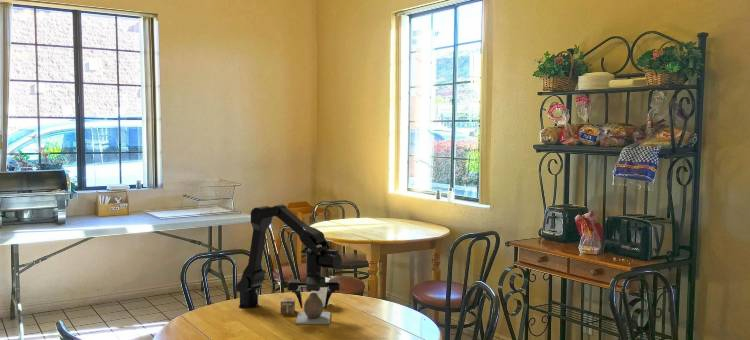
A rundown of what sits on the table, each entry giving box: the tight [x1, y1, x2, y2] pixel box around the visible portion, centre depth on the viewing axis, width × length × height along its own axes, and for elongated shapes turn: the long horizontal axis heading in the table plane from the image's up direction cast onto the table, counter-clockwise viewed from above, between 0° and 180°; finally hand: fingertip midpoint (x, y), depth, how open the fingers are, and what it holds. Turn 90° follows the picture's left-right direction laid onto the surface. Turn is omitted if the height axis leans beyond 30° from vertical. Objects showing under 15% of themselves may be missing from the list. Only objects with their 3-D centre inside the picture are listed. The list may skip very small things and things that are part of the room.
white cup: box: [310, 276, 331, 308], centre depth 247 cm, size 8×8×10 cm
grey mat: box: [295, 311, 331, 325], centre depth 229 cm, size 12×12×1 cm
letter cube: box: [280, 297, 296, 315], centre depth 236 cm, size 5×5×5 cm
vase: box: [303, 292, 324, 318], centre depth 229 cm, size 7×7×9 cm
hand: (313, 308), depth 229 cm, fingers open, 8 cm apart
